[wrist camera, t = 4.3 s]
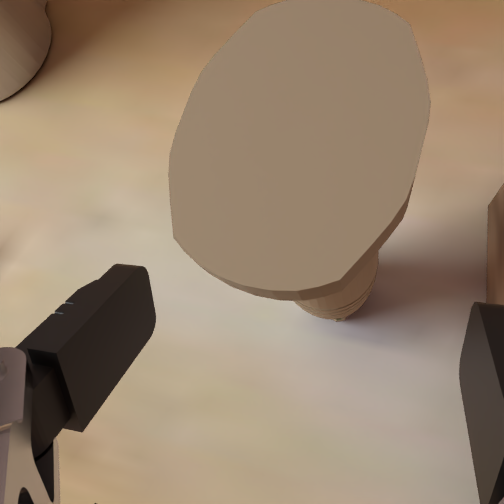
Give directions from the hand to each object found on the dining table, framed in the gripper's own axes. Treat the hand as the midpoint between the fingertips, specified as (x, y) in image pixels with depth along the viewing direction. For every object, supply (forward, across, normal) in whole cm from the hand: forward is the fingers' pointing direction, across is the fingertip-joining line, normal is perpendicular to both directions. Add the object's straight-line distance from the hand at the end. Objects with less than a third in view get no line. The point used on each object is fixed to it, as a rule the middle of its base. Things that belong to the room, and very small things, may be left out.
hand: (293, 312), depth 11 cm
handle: (+10, 0, +6) cm, 12 cm away
